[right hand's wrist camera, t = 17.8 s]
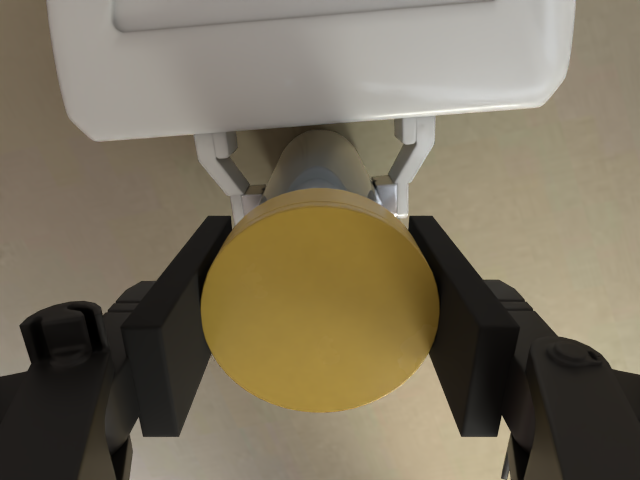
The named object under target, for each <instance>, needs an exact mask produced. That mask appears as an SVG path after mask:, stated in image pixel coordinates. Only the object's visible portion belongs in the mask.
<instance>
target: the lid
mask: <svg viewBox="0 0 640 480" xmlns="http://www.w3.org/2000/svg"><path fill="white" fill-rule="evenodd" d="M200 311H201V319H202V327H203V332H204V336H205V339H206V342H207V344H208V346H209V349H210V351H211V353H212V354H213V356H214V358H215V359H216V361H217V363H218V364H219V365H220V366H221V368H222V369H223V370H224V371H225V373H226V374H227V375H228V376H229V377H230V378H231V379H232V380H234V381H235V382H236V383H237V384H238V385H239V386H241V387H242V388H243V389H245V390H246V391H248V392H249V393H251V394H253V395H254V396H256V397H258V398H260V399H262V400H264V401H267V402H269V403H271V404H274V405H277V406H280V407H283V408H287V409H292V410H297V411H304V412H336V411H343V410H348V409H353V408H357V407H360V406H363V405H366V404H369V403H371V402H374V401H376V400H378V399H380V398H382V397H384V396H386V395H387V394H389V393H391V392H393V391H394V390H395V389H397V388H398V387H399V386H401V385H402V384H403V383H404V382H406V381H407V380H408V379H409V378H410V377H411V376H412V375H413V374H414V373H415V372H416V370H417V369H418V368H419V367H420V365H421V364H422V363H423V361H424V360H425V358H426V356H427V355H428V353H429V351H430V349H431V347H432V344H433V342H434V340H435V336H436V333H437V329H438V322H439V314H440V299H439V294H438V288H437V284H436V281H435V278H434V276H433V273H432V271H431V269H430V267H429V265H428V263H427V261H426V259H425V258H424V256H423V254H422V252H421V251H420V249H419V247H418V245H417V244H416V242H415V240H414V238H413V236H412V235H411V234H410V232H409V231H408V230H407V228H406V227H405V225H404V224H403V223H402V222H401V221H400V220H399V219H398V218H397V217H396V216H395V215H394V214H392V213H391V212H390V211H388V210H387V209H386V208H385V207H383V206H381V205H380V204H378V203H376V202H374V201H373V200H371V199H369V198H366V197H364V196H361V195H359V194H356V193H352V192H348V191H344V190H338V189H331V188H309V189H302V190H296V191H292V192H288V193H284V194H281V195H279V196H276V197H274V198H272V199H269V200H267V201H266V202H264V203H262V204H260V205H259V206H257V207H256V208H254V209H253V210H252V211H250V212H249V213H248V214H246V215H245V216H244V217H243V218H242V219H241V220H240V221H239V222H238V223H237V224H236V226H235V227H234V228H233V230H232V231H231V232H230V234H229V235H228V237H227V238H226V240H225V242H224V244H223V245H222V247H221V249H220V251H219V252H218V254H217V256H216V258H215V259H214V261H213V263H212V265H211V267H210V269H209V271H208V273H207V276H206V279H205V281H204V284H203V289H202V294H201V301H200Z"/></svg>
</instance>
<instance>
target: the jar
mask: <svg viewBox="0 0 640 480" xmlns="http://www.w3.org/2000/svg"><path fill="white" fill-rule="evenodd" d="M309 188H331V189H338V190H344V191H348V192H352V193H356V194H359V195H361V196H364V197H366V198H369V199H371V200H373V201H374V202H376V203H378V204H380V205H381V206H383V204H382V202H381V200H380V198H379V196H378V193H377V191H376V189H375V187H374V185H373V183H372V181H371V179H370V177H369V175H368V173H367V171H366V169H365V167H364V164H363V162H362V160H361V158H360V156H359V154H358V152H357V150H356V149H355V147H354V146H353V144H352V143H351V142H350V141H349V140H347V139H346V138H345V137H344V136H342V135H340V134H338V133H336V132H333V131H330V130H324V129H317V130H310V131H307V132H304V133H302V134H300V135H298V136H297V137H295V138H294V139H293V140H291V142H290V143H289V144H288V145H287V146H286V147H285V149H284V151H283V153H282V154H281V157H280V159H279V161H278V163H277V165H276V167H275V169H274V171H273V173H272V175H271V177H270V179H269V181H268V183H267V185H266V188H265V190H264V192H263V194H262V196H261V198H260V200H259V202H258V204H257V206H259V205H260V204H262V203H264V202H266V201H267V200H269V199H272V198H274V197H276V196H279V195H281V194H284V193H288V192H292V191H296V190H302V189H309ZM257 206H256V207H257ZM383 207H384V206H383Z"/></svg>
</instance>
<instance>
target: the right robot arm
mask: <svg viewBox="0 0 640 480" xmlns="http://www.w3.org/2000/svg"><path fill="white" fill-rule="evenodd" d="M231 231H232V225H231V216H208V217H207V218H206V219H205V220H204V222H203V223H202V224H201V225H200V227H199V228H198V229H197V230H196V232H195V233H194V234H193V236H192V237H191V238H190V239H189V241H188V242H187V243H186V244H185V246H184V247H183V248H182V249H181V251H180V252H179V253H178V254H177V256H176V257H175V258H174V260H173V261H172V262H171V263H170V265H169V266H168V267H167V268H166V270H165V271H164V272H163V273H162V275H161V276H160V277H159V278H158V280H157V281H141V282H139V283H138V284H136V285H134V286H132V287H131V288H129V289H127V290H126V291H125V292H124V293H123V294H122V295H121V296H120V297H119V298H118V299H117V301H116V303H114V304H113V305H112V306H111V307H110V308H109V309H108V313H105V314H104V315H102V310H101V307H100V306H98V305H97V304H95V303H92V302H87V301H75V302H66V303H62V304H57V305H53V306H51V307H48V308H45V309H42V310H40V311H38V312H36V313H35V314H33V315H31V316H29V317H28V318H26V319H25V320H24V321H23V322H22V323H21V324H20V325H19V326H20V329H21V332H22V336H23V339H24V342H25V345H26V348H27V351H28V355H29V358H30V361H31V365H30V367H29V369H28V371H26V372H22V373H17V374H12V375H7V376H2V377H0V480H129V478H130V470H131V462H132V454H133V450H132V443H131V439H130V432H131V430H132V428H133V426H134V424H135V423H136V421H137V419H138V417H139V420H140V424H141V429H142V434H143V437H179V435H180V433H181V430H182V428H183V425H184V422H185V420H186V417H187V415H188V412H189V410H190V407H191V404H192V402H193V399H194V397H195V394H196V392H197V389H198V386H199V384H200V381H201V379H202V376H203V374H204V371H205V369H206V366H207V363H208V361H209V358H210V356H211V351H210V349H209V346H208V344H207V342H206V339H205V336H204V332H203V327H202V319H201V311H200V301H201V294H202V289H203V284H204V281H205V279H206V276H207V273H208V271H209V269H210V267H211V265H212V263H213V261H214V259H215V258H216V256H217V254H218V252H219V251H220V249H221V247H222V245H223V244H224V242H225V240H226V238H227V237H228V235H229V234H230V232H231ZM408 231H409V232H410V234H411V235H412V236H413V238H414V240H415V242H416V244H417V245H418V247H419V249H420V251H421V252H422V254H423V256H424V258H425V259H426V261H427V263H428V265H429V267H430V269H431V271H432V273H433V276H434V278H435V281H436V284H437V288H438V294H439V299H440V314H439V322H438V329H437V333H436V336H435V340H434V342H433V344H432V347H431V349H430V351H429V355H430V358H431V360H432V363H433V365H434V368H435V370H436V373H437V376H438V378H439V381H440V383H441V386H442V388H443V391H444V394H445V396H446V399H447V401H448V404H449V406H450V409H451V411H452V414H453V417H454V419H455V422H456V424H457V427H458V429H459V432H460V435H461V437H497V435H498V430H499V426H500V421H501V416H503V418H504V420H505V422H506V424H507V425H508V427H509V429H510V431H511V434H510V439H509V443H508V447H507V452H506V456H505V461H504V465H503V470H502V476H501V479H505V480H507V478H508V473H509V471H510V476H511V480H640V375H638V374H633V373H628V372H623V371H618V370H614V369H611V367H610V365H609V363H608V362H607V361H606V359H605V358H604V357H603V356H602V355H601V354H600V353H599V352H597V351H596V350H594V349H593V348H591V347H590V346H587V345H585V344H583V343H580V342H578V341H576V340H572V339H568V338H564V337H558V336H557V335H556V334H555V333H554V331H553V330H552V329H551V328H550V327H549V326H548V325H547V324H546V323H545V322H544V320H543V319H542V318H541V317H540V316H539V315H538V314H537V313H536V312H535V311H533V308H532V307H531V306H530V305H529V304H528V303H527V302H525V300H524V298H523V297H522V296H521V295H520V294H519V293H518V292H517V291H516V290H515V289H514V288H512V287H511V286H509V285H507V284H505V283H504V282H502V281H500V280H483V279H482V278H481V277H480V276H479V274H478V273H477V272H476V271H475V269H474V268H473V267H472V265H471V264H470V263H469V262H468V260H467V259H466V258H465V257H464V255H463V254H462V253H461V252H460V250H459V249H458V248H457V247H456V245H455V244H454V243H453V241H452V240H451V239H450V238H449V236H448V235H447V234H446V233H445V231H444V230H443V229H442V228H441V226H440V225H439V224H438V223H437V221H436V220H435V219H434V218H433V216H410V217H409V228H408Z"/></svg>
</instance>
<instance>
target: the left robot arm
mask: <svg viewBox="0 0 640 480" xmlns="http://www.w3.org/2000/svg"><path fill="white" fill-rule="evenodd" d="M46 4H47V13H48V21H49V29H50V36H51V43H52V49H53V55H54V61H55V66H56V71H57V76H58V81H59V86H60V90H61V95H62V99H63V103H64V107H65V110H66V113H67V115H68V117H69V119H70V120H71V121H72V122H73V123H74V124H75V125H76V126H77V127H78V128H79V129H80V130H81V131H82V132H83V133H84V134H85V135H87V136H88V137H89V138H90V139H91V140H93V141H96V142H102V141H115V140H128V139H141V138H154V137H167V136H180V135H194V140H195V146H196V151H197V156H198V161H199V162H200V164H201V165H202V166H203V167H204V168H205V170H206V171H207V172H208V173H209V175H210V176H211V177H212V178H213V179H214V181H215V182H216V183H217V184H218V185H219V187H220V188H221V189H222V190H223V191H224V193H225V194H226V195H227V196H230V200H231V206H232V212H233V218H234V224H235V226H236V224H237V223H238V222H239V221H240V220H241V219H242V218H243V217H244V216H245V215H246V214H248V213H249V212H250V211H252V210H253V209H254V208H256V206H257V204H258V202H259V200H260V198H261V196H262V194H263V192H264V190H265V188H266V185H250V184H249V183H248V181H247V180H246V178H245V177H244V176H243V174H242V173H241V172H240V170H239V169H238V167H237V166H236V165H235V163H234V162H233V161H232V159H231V158H230V155H231V154H232V153H233V152H234V151H235V150H236V149H237V148H238V145H237V138H236V131H244V130H257V129H270V128H283V127H295V126H308V125H321V124H334V123H347V122H360V121H373V120H385V119H394V131H395V137H396V138H398V139H399V140H400V141H401V142H403V143H404V145H403V147H402V148H401V150H400V152H399V154H398V156H397V158H396V160H395V162H394V164H393V166H392V167H391V169H390V171H389V173H388V175H384V176H374V177H372V183H373V185H374V187H375V189H376V191H377V193H378V196H379V198H380V200H381V202H382V204H383V206H384V207H385V208H386V209H387V210H388V211H390V212H391V213H392V214H394V215H395V216H396V217H397V218H407V216H408V183H410V182H412V180H413V179H414V177H415V175H416V174H417V172H418V170H419V169H420V167H421V165H422V164H423V162H424V160H425V159H426V157H427V155H428V154H429V152H430V150H431V149H432V147H433V145H434V144H435V116H437V115H450V114H463V113H476V112H488V111H501V110H514V109H526V108H538V107H541V106H542V105H544V104H545V103H546V102H547V101H548V100H549V98H550V97H551V96H552V95H553V94H554V92H555V91H556V90H557V88H558V87H559V86H560V85H561V83H562V82H563V81H564V79H565V77H566V74H567V70H568V67H569V61H570V55H571V48H572V39H573V30H574V20H575V8H576V0H46Z"/></svg>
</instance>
